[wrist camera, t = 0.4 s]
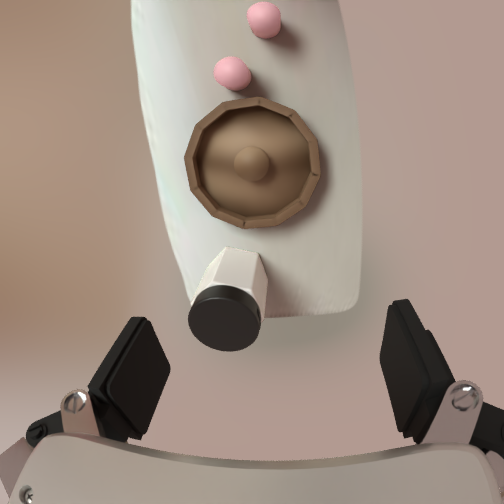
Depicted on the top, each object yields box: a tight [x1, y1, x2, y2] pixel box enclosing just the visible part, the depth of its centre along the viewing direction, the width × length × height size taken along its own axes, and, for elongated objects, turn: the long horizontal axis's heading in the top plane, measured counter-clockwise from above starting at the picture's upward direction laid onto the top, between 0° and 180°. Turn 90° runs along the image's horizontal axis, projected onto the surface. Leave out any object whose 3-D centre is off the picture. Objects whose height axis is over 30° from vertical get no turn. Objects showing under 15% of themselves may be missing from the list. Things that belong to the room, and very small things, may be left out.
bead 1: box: [214, 57, 251, 91], centre depth 28 cm, size 4×4×4 cm
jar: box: [188, 247, 268, 351], centre depth 36 cm, size 9×8×12 cm
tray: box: [184, 96, 321, 229], centre depth 33 cm, size 16×16×3 cm
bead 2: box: [247, 2, 281, 39], centre depth 24 cm, size 4×4×4 cm
